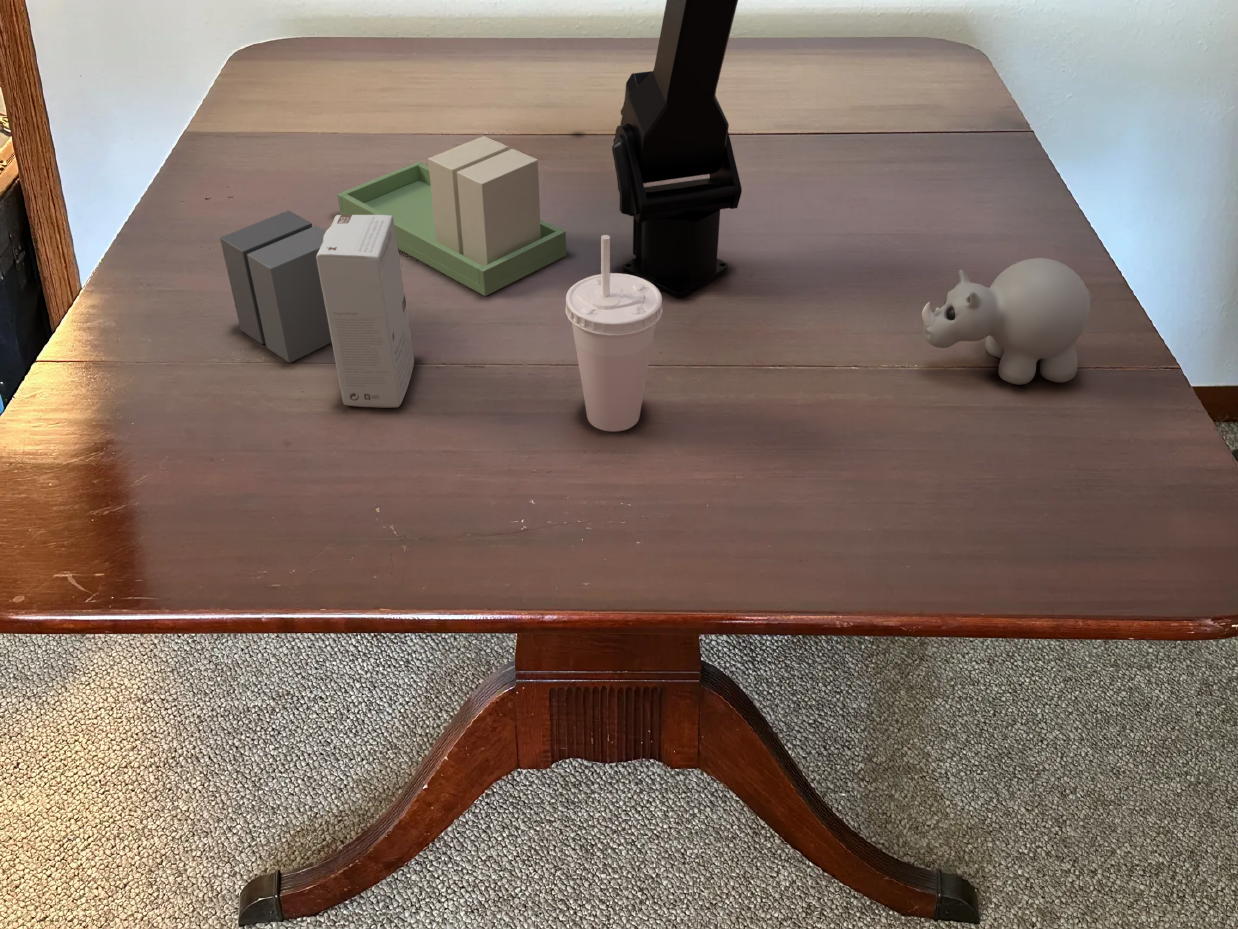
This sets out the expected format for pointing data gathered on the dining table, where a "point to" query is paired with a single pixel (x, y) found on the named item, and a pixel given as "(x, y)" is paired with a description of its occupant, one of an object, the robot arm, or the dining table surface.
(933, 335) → the toy rhinoceros
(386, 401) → the cosmetic box
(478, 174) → the cream books
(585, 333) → the smoothie
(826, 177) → the dining table surface
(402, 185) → the green tray
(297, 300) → the grey books
